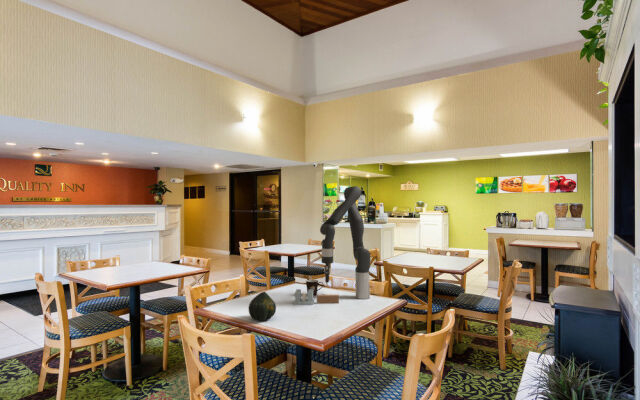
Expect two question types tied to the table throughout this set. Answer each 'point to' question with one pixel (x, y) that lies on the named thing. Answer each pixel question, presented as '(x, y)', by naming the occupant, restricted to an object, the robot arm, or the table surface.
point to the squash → (262, 307)
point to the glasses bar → (327, 299)
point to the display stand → (303, 300)
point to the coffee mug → (312, 286)
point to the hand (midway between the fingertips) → (327, 280)
